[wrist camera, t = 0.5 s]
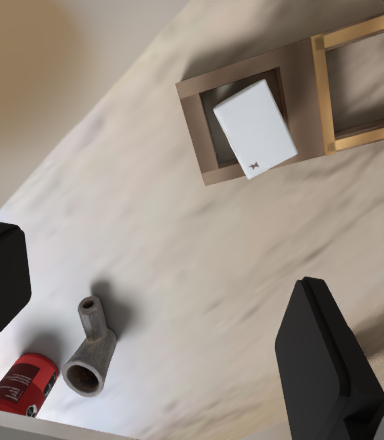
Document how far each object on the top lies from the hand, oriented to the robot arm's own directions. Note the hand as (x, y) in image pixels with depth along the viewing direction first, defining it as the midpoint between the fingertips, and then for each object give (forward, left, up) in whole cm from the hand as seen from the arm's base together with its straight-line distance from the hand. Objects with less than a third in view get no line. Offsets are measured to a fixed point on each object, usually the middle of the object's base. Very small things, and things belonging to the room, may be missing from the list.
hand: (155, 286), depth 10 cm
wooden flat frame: (-11, -2, -26) cm, 28 cm away
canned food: (+40, +30, -26) cm, 56 cm away
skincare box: (-5, -2, -26) cm, 27 cm away
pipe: (+24, +22, -26) cm, 42 cm away
